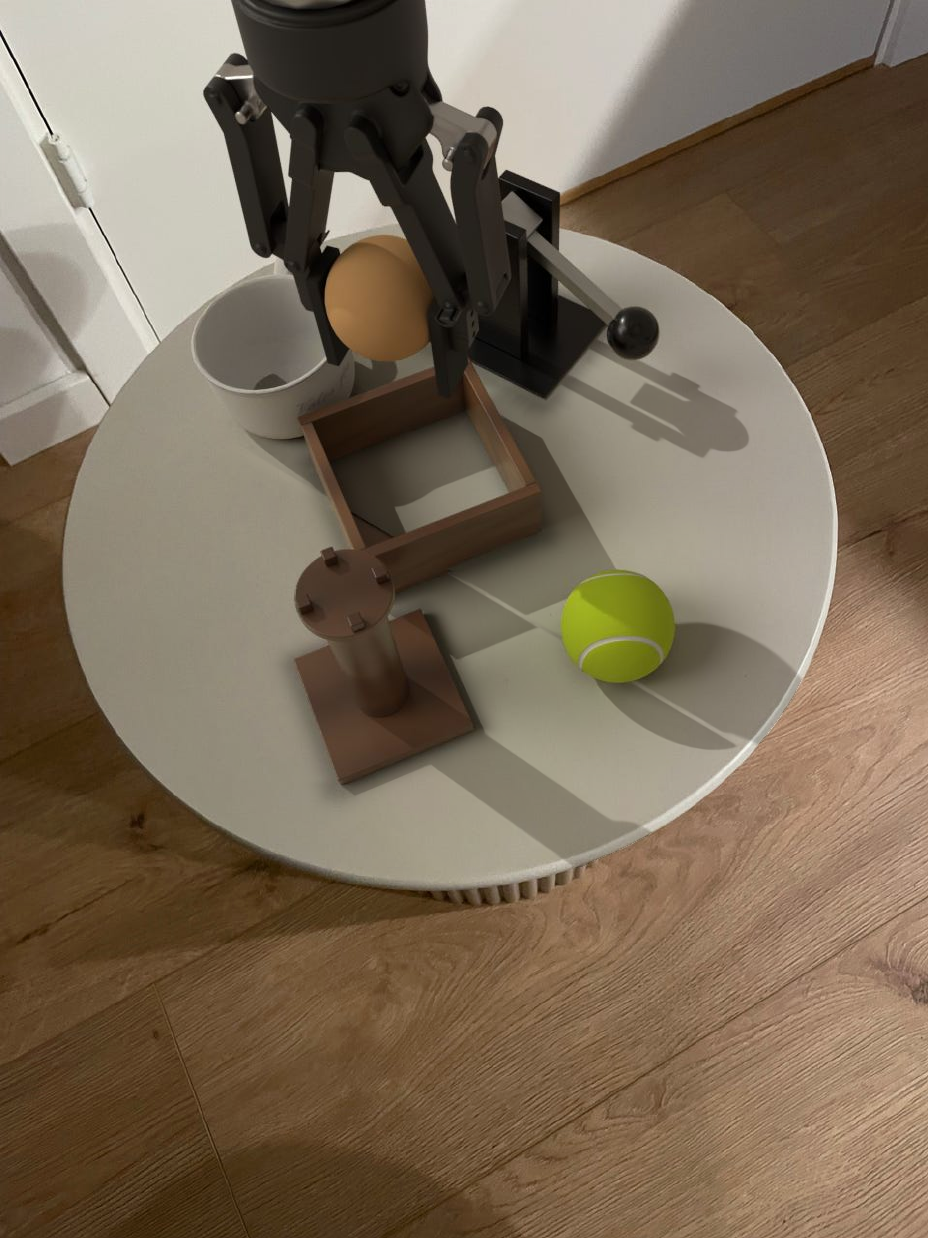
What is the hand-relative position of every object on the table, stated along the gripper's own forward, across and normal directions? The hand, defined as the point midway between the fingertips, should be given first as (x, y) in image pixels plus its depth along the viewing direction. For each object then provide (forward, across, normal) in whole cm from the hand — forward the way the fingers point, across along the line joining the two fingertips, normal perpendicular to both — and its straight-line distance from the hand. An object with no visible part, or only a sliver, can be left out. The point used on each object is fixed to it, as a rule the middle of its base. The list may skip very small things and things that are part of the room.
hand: (397, 362), depth 58 cm
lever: (+8, -5, -15) cm, 18 cm away
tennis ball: (+15, -16, +6) cm, 23 cm away
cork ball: (-5, 0, 0) cm, 5 cm away
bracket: (+15, -1, -16) cm, 22 cm away
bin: (+15, 0, 0) cm, 15 cm away
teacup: (+15, +13, -6) cm, 21 cm away
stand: (+15, -4, +15) cm, 21 cm away
